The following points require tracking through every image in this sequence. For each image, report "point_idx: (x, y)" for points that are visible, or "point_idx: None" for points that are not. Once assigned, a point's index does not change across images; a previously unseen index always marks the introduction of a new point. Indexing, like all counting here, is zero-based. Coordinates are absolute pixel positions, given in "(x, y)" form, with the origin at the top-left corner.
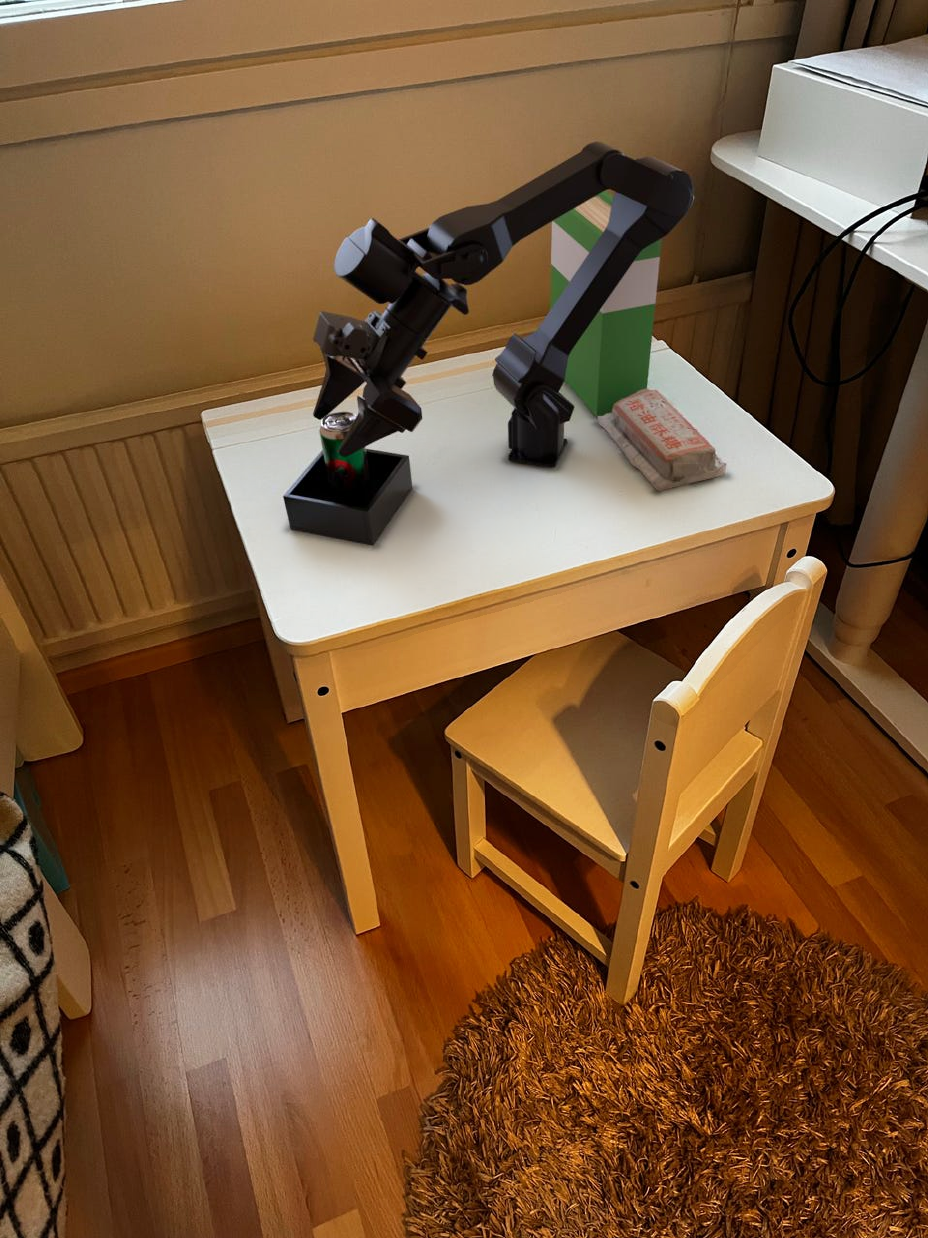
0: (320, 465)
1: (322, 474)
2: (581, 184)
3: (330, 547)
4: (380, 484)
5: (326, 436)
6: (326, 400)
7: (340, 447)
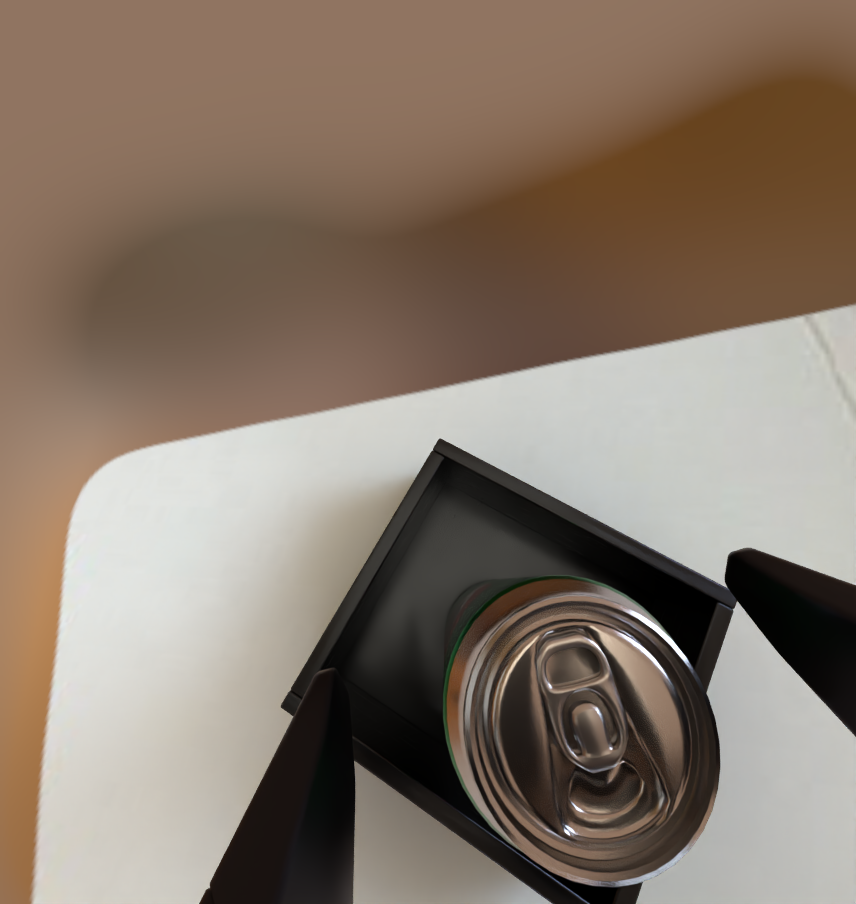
0: (619, 556)
1: (607, 559)
2: None
3: (349, 561)
4: None
5: (485, 614)
6: (851, 654)
7: (316, 697)
